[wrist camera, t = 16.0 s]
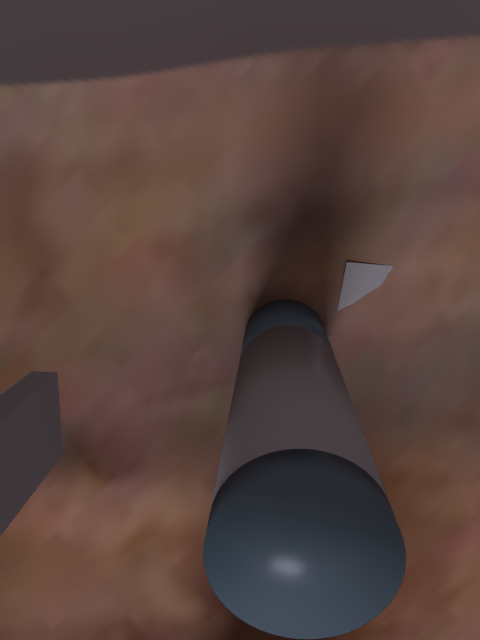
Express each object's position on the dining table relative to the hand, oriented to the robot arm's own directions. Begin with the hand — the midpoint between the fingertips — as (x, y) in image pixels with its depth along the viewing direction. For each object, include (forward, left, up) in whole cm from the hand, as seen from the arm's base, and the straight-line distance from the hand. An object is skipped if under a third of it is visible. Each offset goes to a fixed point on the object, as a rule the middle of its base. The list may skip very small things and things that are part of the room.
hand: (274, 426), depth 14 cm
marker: (0, 0, -7) cm, 7 cm away
